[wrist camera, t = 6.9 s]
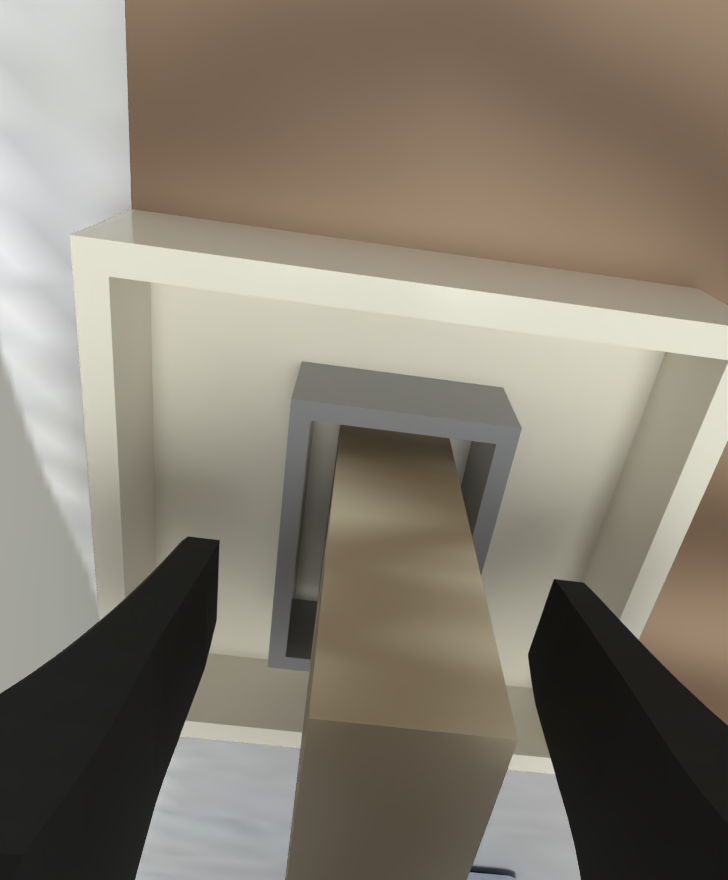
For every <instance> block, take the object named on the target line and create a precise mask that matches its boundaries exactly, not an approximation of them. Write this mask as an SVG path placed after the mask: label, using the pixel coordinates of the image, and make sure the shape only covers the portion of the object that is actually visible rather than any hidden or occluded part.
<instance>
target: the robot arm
mask: <svg viewBox="0 0 728 880" xmlns="http://www.w3.org/2000/svg"><path fill="white" fill-rule="evenodd" d="M219 544H220V540H215V539H206V538H197V537H189V536H188V537H186V538H185V539H184V540H182V541H181V542H180V543H179V544H178V545H177V547H176V548H175V549H174V550H173V551H172V552H171V553H170V554H169V555H168V556H167V557H166V558H165V559H164V561H163V562H162V563H161V564H160V565H159V566H158V567H157V568H156V569H155V570H154V571H153V572H152V573H151V574H150V575H149V576H148V577H147V578H146V579H145V580H144V581H143V582H142V583H141V584H140V585H139V586H137V587H136V588H135V589H134V590H133V591H132V592H131V593H130V594H129V595H128V596H127V597H126V598H125V599H124V600H123V601H122V602H121V603H119V604H118V605H117V606H116V607H115V608H114V609H113V610H112V611H110V612H109V613H108V614H107V615H106V616H105V617H103V618H102V619H101V620H100V621H99V622H98V623H96V624H95V625H94V626H93V627H92V628H91V629H89V630H88V631H87V632H86V633H85V634H83V635H82V636H81V637H80V638H78V639H77V640H76V641H75V642H73V643H72V644H71V645H69V646H68V647H67V648H66V649H64V650H63V651H62V652H60V653H59V654H58V655H56V656H55V657H54V658H53V659H51V660H49V661H48V662H47V663H45V664H44V665H43V666H41V667H40V668H38V669H37V670H36V671H34V672H33V673H31V674H30V675H28V676H27V677H25V678H24V679H22V680H21V681H19V682H18V683H16V684H15V685H13V686H12V687H10V688H9V689H7V690H5V691H4V692H2V693H1V694H0V880H135V877H136V873H137V870H138V866H139V862H140V858H141V855H142V851H143V847H144V844H145V840H146V836H147V833H148V829H149V825H150V822H151V818H152V815H153V811H154V807H155V804H156V801H157V798H158V795H159V792H160V789H161V786H162V783H163V779H164V777H165V774H166V771H167V769H168V766H169V763H170V761H171V758H172V755H173V753H174V750H175V747H176V745H177V742H178V739H179V737H180V734H181V731H182V729H183V726H184V723H185V721H186V718H187V715H188V713H189V710H190V707H191V705H192V702H193V699H194V697H195V694H196V691H197V689H198V686H199V683H200V680H201V678H202V675H203V672H204V669H205V666H206V662H207V658H208V654H209V650H210V646H211V642H212V638H213V634H214V630H215V626H216V621H217V600H218V572H219ZM528 660H529V668H530V675H531V682H532V688H533V694H534V700H535V705H536V709H537V712H538V716H539V720H540V723H541V727H542V730H543V734H544V737H545V741H546V744H547V748H548V751H549V755H550V758H551V762H552V765H553V768H554V772H555V775H556V779H557V782H558V785H559V789H560V792H561V796H562V799H563V803H564V806H565V809H566V813H567V816H568V820H569V824H570V828H571V832H572V836H573V840H574V844H575V849H576V855H577V860H578V865H579V870H580V876H581V880H728V725H727V724H726V723H724V722H723V721H722V720H721V719H720V718H719V717H718V716H716V715H715V714H714V713H713V712H712V711H711V710H710V709H709V708H707V707H706V706H705V705H704V704H703V703H702V702H701V701H700V700H699V699H698V698H697V697H696V696H695V695H694V694H692V693H691V692H690V691H689V690H688V689H687V688H686V687H685V686H684V685H683V684H682V683H681V682H680V681H679V680H678V679H677V678H676V677H675V676H674V675H673V674H672V673H671V672H670V671H669V670H667V669H666V668H665V667H664V666H663V665H662V663H661V662H660V661H659V660H658V659H657V658H656V657H655V656H654V655H653V654H652V653H651V652H650V651H649V650H648V649H647V648H646V647H645V646H644V645H643V644H642V643H641V642H640V641H639V640H638V639H637V638H636V637H635V636H634V635H633V633H632V632H631V631H630V630H629V629H628V628H627V627H626V626H625V625H624V624H623V623H622V622H621V621H620V620H619V618H618V617H617V616H616V615H615V614H614V613H613V612H612V611H611V610H610V609H609V608H608V607H607V606H606V605H605V603H604V602H603V601H602V600H601V599H600V598H599V597H598V596H597V595H596V594H595V593H594V592H593V591H592V590H591V589H590V588H589V587H588V586H587V585H586V584H585V583H584V582H575V581H567V580H558V579H554V580H553V583H552V586H551V589H550V591H549V594H548V597H547V600H546V603H545V606H544V609H543V612H542V615H541V618H540V620H539V623H538V626H537V629H536V632H535V635H534V638H533V641H532V644H531V647H530V649H529V652H528ZM467 880H516V879H515V878H513V877H511V876H506V875H495V874H484V873H474V872H470V873H469V876H468V878H467Z"/></svg>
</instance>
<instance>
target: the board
mask: <svg viewBox="0 0 728 880" xmlns="http://www.w3.org/2000/svg"><path fill="white" fill-rule="evenodd" d="M125 18H126V49H127V79H128V110H129V140H130V171H131V202H132V209H134V210H142V211H149V212H156V213H163V214H170V215H177V216H184V217H191V218H199V219H206V220H213V221H220V222H227V223H234V224H241V225H248V226H256V227H263V228H270V229H277V230H284V231H291V232H298V233H305V234H312V235H320V236H327V237H334V238H341V239H348V240H355V241H362V242H369V243H377V244H384V245H391V246H398V247H405V248H412V249H419V250H426V251H434V252H441V253H448V254H455V255H462V256H469V257H476V258H483V259H490V260H498V261H505V262H512V263H519V264H526V265H533V266H540V267H547V268H555V269H562V270H569V271H576V272H583V273H590V274H597V275H604V276H612V277H619V278H626V279H633V280H640V281H647V282H654V283H661V284H669V285H676V286H683V287H690V288H697V289H699V290H701V291H703V292H705V293H707V294H708V295H710V296H712V297H714V298H716V299H717V300H719V301H721V302H723V303H725V304H726V305H728V0H125ZM639 641H640V642H641V643H642V644H643V645H644V646H645V647H646V648H647V649H648V650H649V651H650V652H651V653H652V654H653V655H654V656H655V657H656V658H657V659H658V660H659V661H660V662H661V663H662V665H663V666H664V667H665V668H666V669H667V670H669V671H670V672H671V673H672V674H673V675H674V676H675V677H676V678H677V679H678V680H679V681H680V682H681V683H682V684H683V685H684V686H685V687H686V688H687V689H688V690H689V691H690V692H691V693H692V694H694V695H695V696H696V697H697V698H698V699H699V700H700V701H701V702H702V703H703V704H704V705H705V706H706V707H707V708H709V709H710V710H711V711H712V712H713V713H714V714H715V715H716V716H718V717H719V718H720V719H721V720H722V721H723V722H724V723H726V724H727V725H728V441H727V443H726V445H725V448H724V450H723V452H722V454H721V457H720V459H719V461H718V463H717V466H716V468H715V470H714V472H713V474H712V477H711V479H710V481H709V483H708V486H707V488H706V490H705V492H704V495H703V497H702V499H701V501H700V504H699V506H698V508H697V510H696V512H695V515H694V517H693V519H692V521H691V524H690V526H689V528H688V530H687V533H686V535H685V537H684V539H683V541H682V544H681V546H680V548H679V550H678V553H677V555H676V557H675V559H674V562H673V564H672V566H671V568H670V571H669V573H668V575H667V577H666V579H665V582H664V584H663V586H662V588H661V591H660V593H659V595H658V597H657V600H656V602H655V604H654V606H653V608H652V611H651V613H650V615H649V617H648V620H647V622H646V624H645V626H644V629H643V631H642V633H641V635H640V638H639Z"/></svg>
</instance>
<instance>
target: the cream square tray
mask: <svg viewBox="0 0 728 880" xmlns="http://www.w3.org/2000/svg"><path fill="white" fill-rule="evenodd" d="M70 245H71V258H72V271H73V284H74V297H75V311H76V324H77V337H78V350H79V363H80V376H81V389H82V402H83V415H84V428H85V441H86V454H87V467H88V480H89V493H90V506H91V519H92V532H93V545H94V558H95V571H96V584H97V597H98V610H99V621H100V620H101V619H102V618H103V617H105V616H106V615H107V614H108V613H109V612H110V611H112V610H113V609H114V608H115V607H116V606H117V605H118V604H119V603H121V602H122V601H123V600H124V599H125V598H126V597H127V596H128V595H129V594H130V593H131V592H132V591H133V590H134V589H135V588H136V587H137V586H139V585H140V584H141V583H142V582H143V581H144V580H145V579H146V578H147V577H148V576H149V575H150V574H151V573H152V572H153V571H154V570H155V569H156V568H157V567H158V566H159V565H160V564H161V563H162V562H163V561H164V559H165V558H166V557H167V556H168V555H169V554H170V553H171V552H172V551H173V550H174V549H175V548H176V547H177V545H178V544H179V543H180V542H181V541H182V540H184V539H185V538H186V537H188V536H189V537H197V538H206V539H215V540H220V544H219V572H218V600H217V621H216V626H215V630H214V634H213V638H212V642H211V646H210V650H209V654H208V658H207V662H206V666H205V669H204V672H203V675H202V678H201V680H200V683H199V686H198V689H197V691H196V694H195V697H194V699H193V702H192V705H191V707H190V710H189V713H188V715H187V718H186V721H185V723H184V726H183V729H182V731H181V734H180V736H181V737H191V738H201V739H211V740H221V741H231V742H241V743H250V744H260V745H270V746H280V747H290V748H301V739H302V731H303V722H304V713H305V705H306V696H307V687H308V679H309V670H310V662H311V653H312V644H313V636H314V627H315V618H316V610H317V601H318V592H319V584H320V577H321V569H322V561H323V553H324V546H325V538H326V530H327V523H328V515H329V507H330V499H331V492H332V484H333V476H334V469H335V461H336V453H337V445H338V438H339V430H340V424H341V425H349V426H356V427H364V428H372V429H380V430H388V431H396V432H404V433H412V434H420V435H428V436H436V437H444V438H450V442H451V447H452V451H453V456H454V460H455V464H456V469H457V473H458V478H459V482H460V486H461V491H462V495H463V500H464V504H465V508H466V513H467V517H468V522H469V526H470V530H471V535H472V539H473V544H474V548H475V552H476V557H477V561H478V566H479V570H480V574H481V579H482V583H483V588H484V592H485V596H486V601H487V605H488V610H489V614H490V618H491V623H492V627H493V632H494V636H495V640H496V645H497V649H498V654H499V658H500V662H501V667H502V671H503V675H504V680H505V684H506V689H507V693H508V697H509V702H510V706H511V711H512V715H513V719H514V724H515V728H516V733H517V737H518V742H517V745H516V747H515V750H514V753H513V756H512V758H511V761H510V764H509V766H508V769H507V770H517V771H527V772H536V773H546V774H555V772H554V768H553V765H552V762H551V758H550V755H549V751H548V748H547V744H546V741H545V737H544V734H543V730H542V727H541V723H540V720H539V716H538V712H537V709H536V705H535V700H534V694H533V688H532V682H531V675H530V668H529V660H528V652H529V649H530V647H531V644H532V641H533V638H534V635H535V632H536V629H537V626H538V623H539V620H540V618H541V615H542V612H543V609H544V606H545V603H546V600H547V597H548V594H549V591H550V589H551V586H552V583H553V580H554V579H558V580H567V581H575V582H584V583H585V584H586V585H587V586H588V587H589V588H590V589H591V590H592V591H593V592H594V593H595V594H596V595H597V596H598V597H599V598H600V599H601V600H602V601H603V602H604V603H605V605H606V606H607V607H608V608H609V609H610V610H611V611H612V612H613V613H614V614H615V615H616V616H617V617H618V618H619V620H620V621H621V622H622V623H623V624H624V625H625V626H626V627H627V628H628V629H629V630H630V631H631V632H632V633H633V635H634V636H635V637H636V638H637V639H638V640H639V638H640V635H641V633H642V631H643V629H644V626H645V624H646V622H647V620H648V617H649V615H650V613H651V611H652V608H653V606H654V604H655V602H656V600H657V597H658V595H659V593H660V591H661V588H662V586H663V584H664V582H665V579H666V577H667V575H668V573H669V571H670V568H671V566H672V564H673V562H674V559H675V557H676V555H677V553H678V550H679V548H680V546H681V544H682V541H683V539H684V537H685V535H686V533H687V530H688V528H689V526H690V524H691V521H692V519H693V517H694V515H695V512H696V510H697V508H698V506H699V504H700V501H701V499H702V497H703V495H704V492H705V490H706V488H707V486H708V483H709V481H710V479H711V477H712V474H713V472H714V470H715V468H716V466H717V463H718V461H719V459H720V457H721V454H722V452H723V450H724V448H725V445H726V443H727V441H728V305H726V304H725V303H723V302H721V301H719V300H717V299H716V298H714V297H712V296H710V295H708V294H707V293H705V292H703V291H701V290H699V289H697V288H690V287H683V286H676V285H669V284H661V283H654V282H647V281H640V280H633V279H626V278H619V277H612V276H604V275H597V274H590V273H583V272H576V271H569V270H562V269H555V268H547V267H540V266H533V265H526V264H519V263H512V262H505V261H498V260H490V259H483V258H476V257H469V256H462V255H455V254H448V253H441V252H434V251H426V250H419V249H412V248H405V247H398V246H391V245H384V244H377V243H369V242H362V241H355V240H348V239H341V238H334V237H327V236H320V235H312V234H305V233H298V232H291V231H284V230H277V229H270V228H263V227H256V226H248V225H241V224H234V223H227V222H220V221H213V220H206V219H199V218H191V217H184V216H177V215H170V214H163V213H156V212H149V211H142V210H134V209H131V210H128V211H126V212H124V213H121V214H119V215H116V216H114V217H112V218H109V219H107V220H104V221H102V222H99V223H97V224H95V225H92V226H90V227H87V228H85V229H83V230H80V231H78V232H75V233H73V234H71V235H70Z"/></svg>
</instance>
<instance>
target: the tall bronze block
mask: <svg viewBox="0 0 728 880" xmlns="http://www.w3.org/2000/svg"><path fill="white" fill-rule="evenodd" d="M517 742H518V737H517V733H516V728H515V724H514V719H513V715H512V711H511V706H510V702H509V697H508V693H507V689H506V684H505V680H504V675H503V671H502V667H501V662H500V658H499V654H498V649H497V645H496V640H495V636H494V632H493V627H492V623H491V618H490V614H489V610H488V605H487V601H486V596H485V592H484V588H483V583H482V579H481V574H480V570H479V566H478V561H477V557H476V552H475V548H474V544H473V539H472V535H471V530H470V526H469V522H468V517H467V513H466V508H465V504H464V500H463V495H462V491H461V486H460V482H459V478H458V473H457V469H456V464H455V460H454V456H453V451H452V447H451V442H450V438H444V437H436V436H428V435H420V434H412V433H404V432H396V431H388V430H380V429H372V428H364V427H356V426H349V425H341V424H340V430H339V438H338V445H337V453H336V461H335V469H334V476H333V484H332V492H331V499H330V507H329V515H328V523H327V530H326V538H325V546H324V553H323V561H322V569H321V577H320V584H319V592H318V601H317V610H316V618H315V627H314V636H313V644H312V653H311V662H310V670H309V679H308V687H307V696H306V705H305V713H304V722H303V731H302V739H301V748H300V757H299V765H298V774H297V783H296V791H295V800H294V808H293V817H292V826H291V834H290V843H289V852H288V860H287V869H286V878H285V880H467V878H468V876H469V873H470V870H471V867H472V865H473V862H474V859H475V857H476V854H477V851H478V848H479V846H480V843H481V840H482V837H483V835H484V832H485V829H486V826H487V824H488V821H489V818H490V816H491V813H492V810H493V807H494V805H495V802H496V799H497V796H498V794H499V791H500V788H501V786H502V783H503V780H504V777H505V775H506V772H507V769H508V766H509V764H510V761H511V758H512V756H513V753H514V750H515V747H516V745H517Z"/></svg>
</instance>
